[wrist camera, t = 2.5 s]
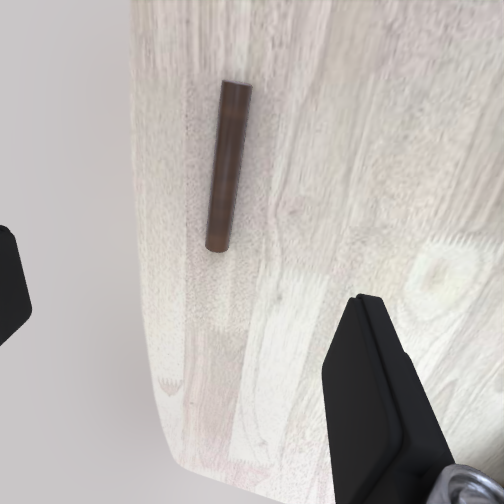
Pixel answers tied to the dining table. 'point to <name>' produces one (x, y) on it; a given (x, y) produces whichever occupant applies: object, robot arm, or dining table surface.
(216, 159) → the stick
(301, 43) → the dining table surface
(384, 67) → the dining table surface
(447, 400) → the dining table surface
